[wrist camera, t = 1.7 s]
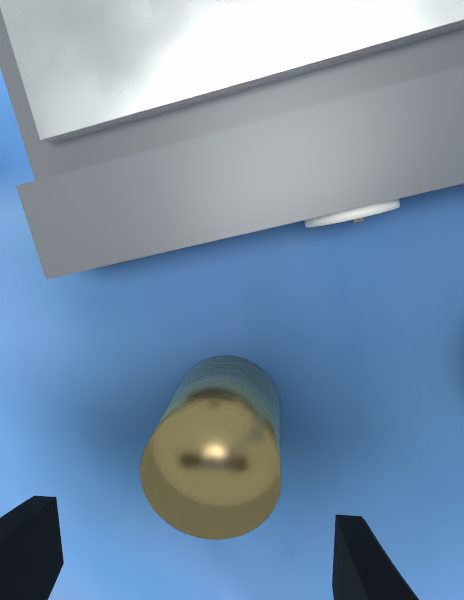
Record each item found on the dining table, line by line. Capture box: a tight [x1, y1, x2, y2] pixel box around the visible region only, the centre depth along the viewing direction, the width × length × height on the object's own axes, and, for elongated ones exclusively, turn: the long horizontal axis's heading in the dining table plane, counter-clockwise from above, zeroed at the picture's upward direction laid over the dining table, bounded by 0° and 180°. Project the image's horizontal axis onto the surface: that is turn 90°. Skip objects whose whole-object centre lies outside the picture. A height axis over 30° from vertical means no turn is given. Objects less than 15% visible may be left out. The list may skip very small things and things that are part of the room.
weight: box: [140, 356, 281, 540], centre depth 15 cm, size 4×4×5 cm
